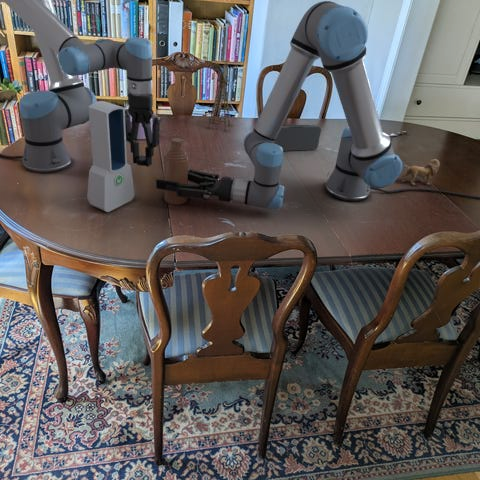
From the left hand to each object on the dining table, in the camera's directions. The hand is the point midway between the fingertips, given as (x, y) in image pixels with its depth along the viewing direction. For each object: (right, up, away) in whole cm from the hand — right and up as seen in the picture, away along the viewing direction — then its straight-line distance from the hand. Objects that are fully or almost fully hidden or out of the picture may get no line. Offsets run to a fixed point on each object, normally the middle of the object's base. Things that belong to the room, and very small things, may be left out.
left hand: (142, 163), depth 156 cm
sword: (+100, +21, +59) cm, 118 cm away
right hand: (+8, -7, -11) cm, 15 cm away
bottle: (+12, -13, -8) cm, 19 cm away
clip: (-11, +18, +34) cm, 40 cm away
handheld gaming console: (+54, +11, +36) cm, 65 cm away
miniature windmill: (+23, +25, +51) cm, 61 cm away
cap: (0, +1, -1) cm, 2 cm away
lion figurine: (+99, -4, +20) cm, 101 cm away
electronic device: (-6, -14, -14) cm, 21 cm away
